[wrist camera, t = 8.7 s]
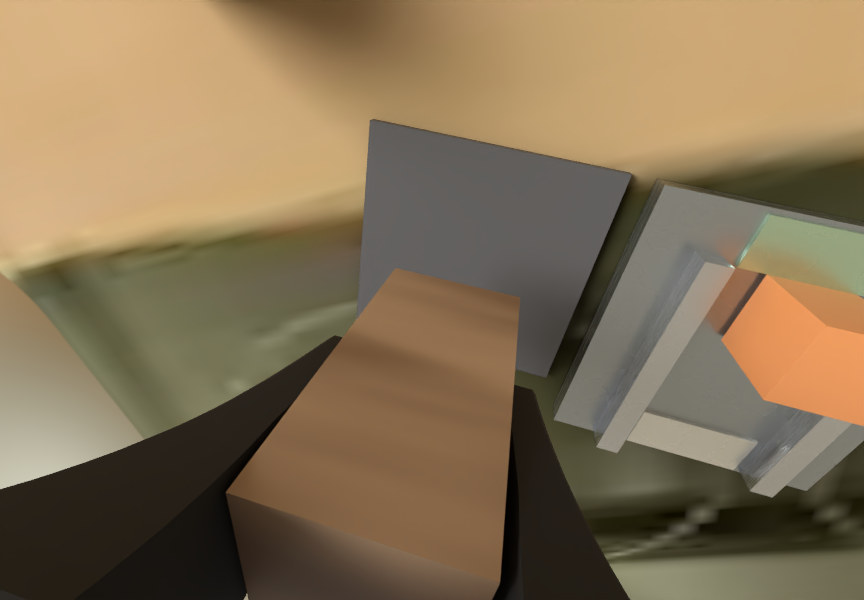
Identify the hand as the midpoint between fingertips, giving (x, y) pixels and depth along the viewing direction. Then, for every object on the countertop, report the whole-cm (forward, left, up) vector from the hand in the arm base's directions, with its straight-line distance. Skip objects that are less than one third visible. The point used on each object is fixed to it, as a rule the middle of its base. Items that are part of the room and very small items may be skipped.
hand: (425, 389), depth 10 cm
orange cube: (+1, -12, -7) cm, 14 cm away
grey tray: (-1, -12, -9) cm, 15 cm away
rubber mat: (0, 0, -8) cm, 8 cm away
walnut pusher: (0, 0, -3) cm, 3 cm away
